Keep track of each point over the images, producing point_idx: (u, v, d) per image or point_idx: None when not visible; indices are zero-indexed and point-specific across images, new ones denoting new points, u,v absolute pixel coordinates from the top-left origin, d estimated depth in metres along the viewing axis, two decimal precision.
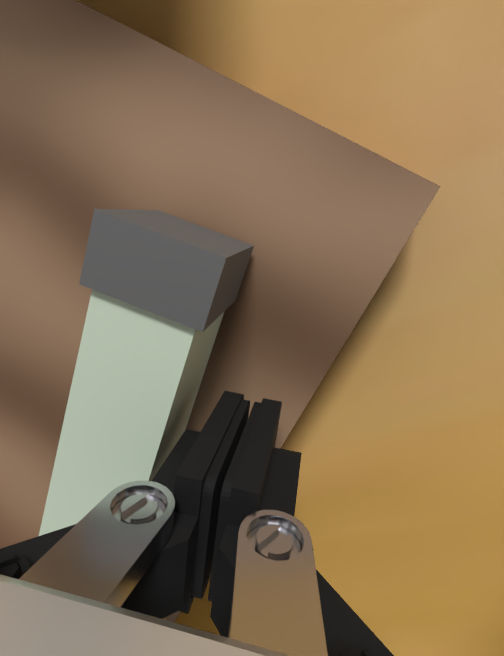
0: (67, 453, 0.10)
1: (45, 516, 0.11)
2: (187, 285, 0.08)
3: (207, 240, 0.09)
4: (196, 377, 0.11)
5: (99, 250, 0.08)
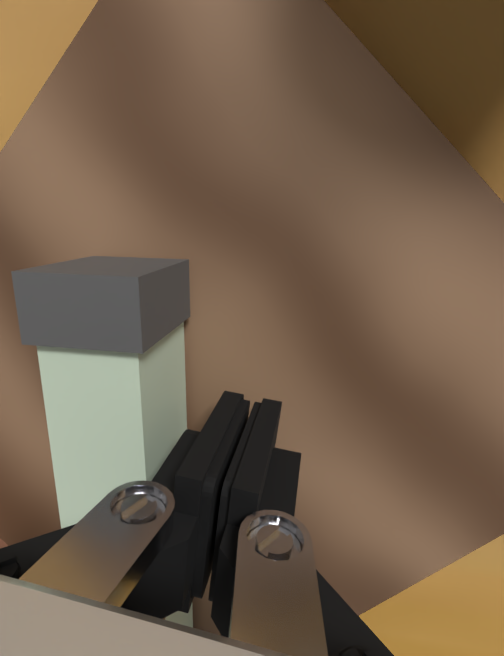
0: (68, 507, 0.10)
1: None
2: (113, 314, 0.08)
3: (130, 267, 0.09)
4: (173, 400, 0.11)
5: (27, 308, 0.09)
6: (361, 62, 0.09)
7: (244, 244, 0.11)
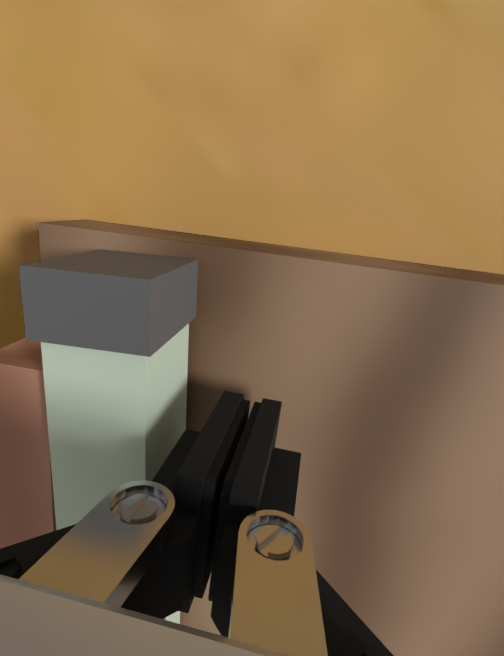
0: (64, 504, 0.10)
1: None
2: (122, 316, 0.08)
3: (140, 266, 0.09)
4: (175, 400, 0.11)
5: (33, 303, 0.08)
6: None
7: None
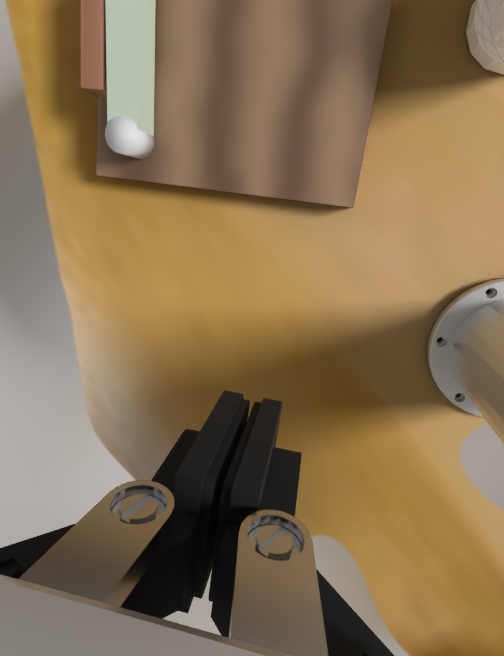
0: None
1: (106, 34, 0.29)
2: None
3: None
4: None
5: None
6: (383, 26, 0.29)
7: (311, 37, 0.30)
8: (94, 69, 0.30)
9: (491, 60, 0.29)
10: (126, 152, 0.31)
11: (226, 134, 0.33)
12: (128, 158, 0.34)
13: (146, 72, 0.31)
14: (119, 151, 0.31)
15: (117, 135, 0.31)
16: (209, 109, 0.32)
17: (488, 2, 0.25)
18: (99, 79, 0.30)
